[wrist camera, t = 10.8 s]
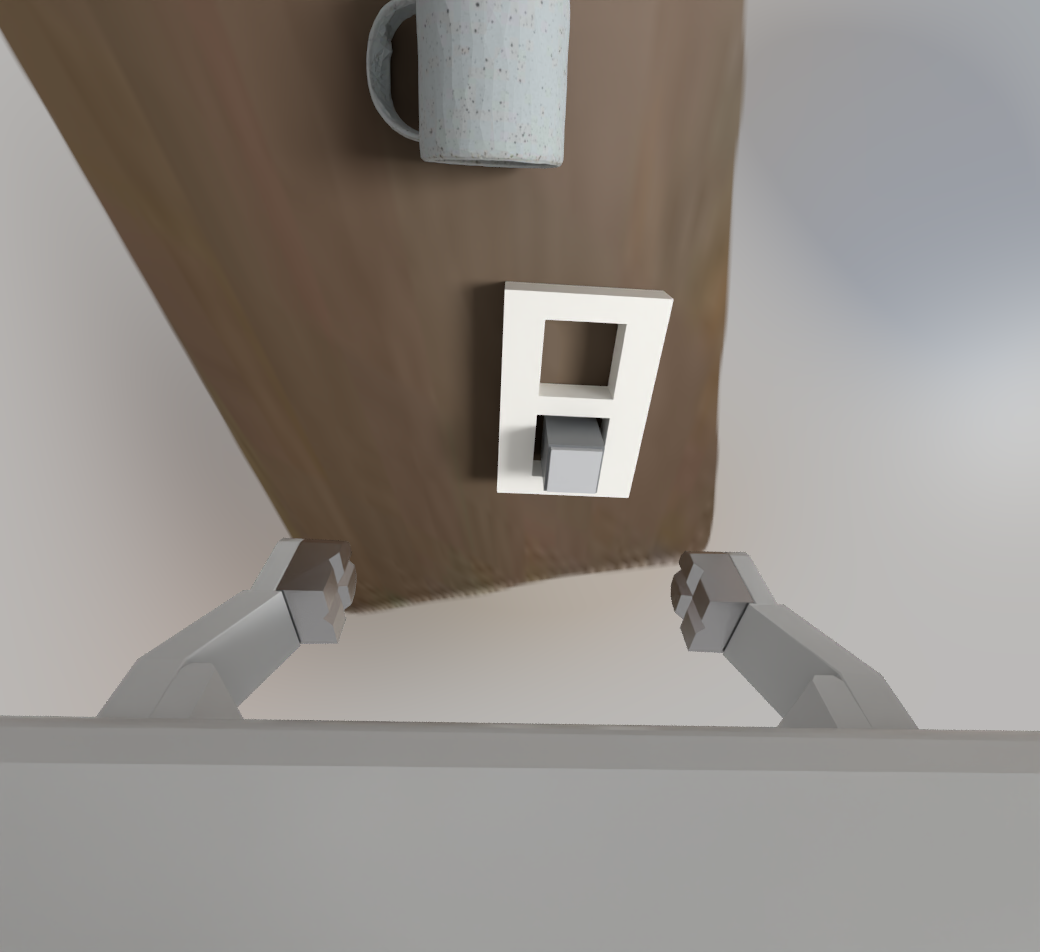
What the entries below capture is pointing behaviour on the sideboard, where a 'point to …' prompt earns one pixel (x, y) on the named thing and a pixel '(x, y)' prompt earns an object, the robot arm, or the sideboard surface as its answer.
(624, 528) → the sideboard surface
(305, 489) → the sideboard surface
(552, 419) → the plug
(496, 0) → the ceramic mug
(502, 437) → the outlet plate
